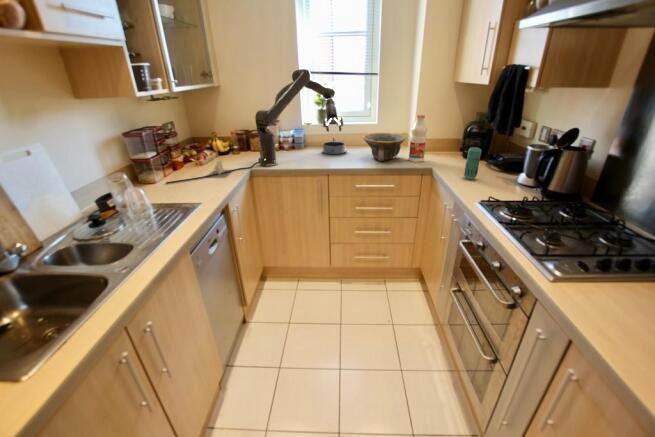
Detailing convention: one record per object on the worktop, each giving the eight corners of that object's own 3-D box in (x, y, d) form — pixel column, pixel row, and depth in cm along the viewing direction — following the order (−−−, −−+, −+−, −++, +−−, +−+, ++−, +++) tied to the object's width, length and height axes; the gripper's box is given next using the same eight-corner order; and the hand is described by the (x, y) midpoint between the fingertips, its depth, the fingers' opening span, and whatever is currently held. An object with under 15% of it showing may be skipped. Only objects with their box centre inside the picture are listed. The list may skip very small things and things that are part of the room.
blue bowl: (330, 156, 220) (330, 147, 218) (318, 151, 233) (318, 143, 231) (350, 152, 228) (350, 144, 225) (337, 148, 241) (337, 140, 238)
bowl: (394, 166, 193) (396, 141, 187) (356, 161, 206) (356, 138, 199) (409, 156, 214) (411, 134, 207) (373, 152, 226) (374, 131, 220)
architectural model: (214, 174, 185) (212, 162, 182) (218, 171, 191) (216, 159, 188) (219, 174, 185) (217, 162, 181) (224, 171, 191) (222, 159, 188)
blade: (332, 152, 228) (332, 137, 224) (331, 150, 232) (331, 136, 228) (336, 151, 228) (336, 137, 224) (335, 150, 233) (335, 136, 228)
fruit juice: (425, 159, 206) (430, 114, 194) (421, 162, 199) (426, 116, 187) (411, 157, 211) (415, 114, 199) (406, 161, 203) (410, 116, 191)
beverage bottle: (460, 178, 170) (466, 140, 161) (470, 176, 172) (476, 139, 164) (469, 181, 164) (476, 143, 156) (479, 179, 166) (486, 141, 158)
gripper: (322, 109, 224) (324, 128, 218) (341, 108, 226) (344, 127, 220) (321, 115, 231) (323, 134, 225) (340, 115, 233) (343, 133, 227)
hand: (334, 130), depth 223 cm, fingers open, 8 cm apart
